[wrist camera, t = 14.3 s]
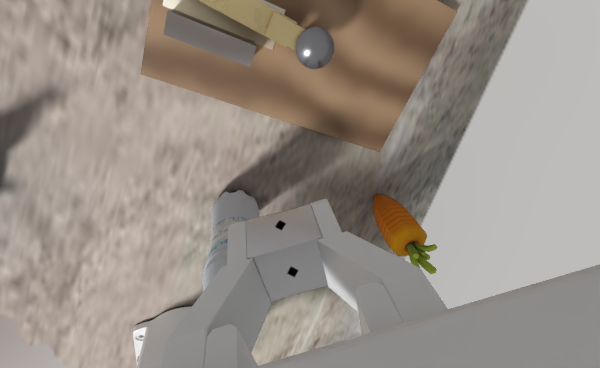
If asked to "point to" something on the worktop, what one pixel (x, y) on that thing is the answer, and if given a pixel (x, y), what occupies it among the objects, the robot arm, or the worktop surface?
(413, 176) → the worktop surface
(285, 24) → the swing bar
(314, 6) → the latch board
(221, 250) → the bottle
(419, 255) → the carrot
